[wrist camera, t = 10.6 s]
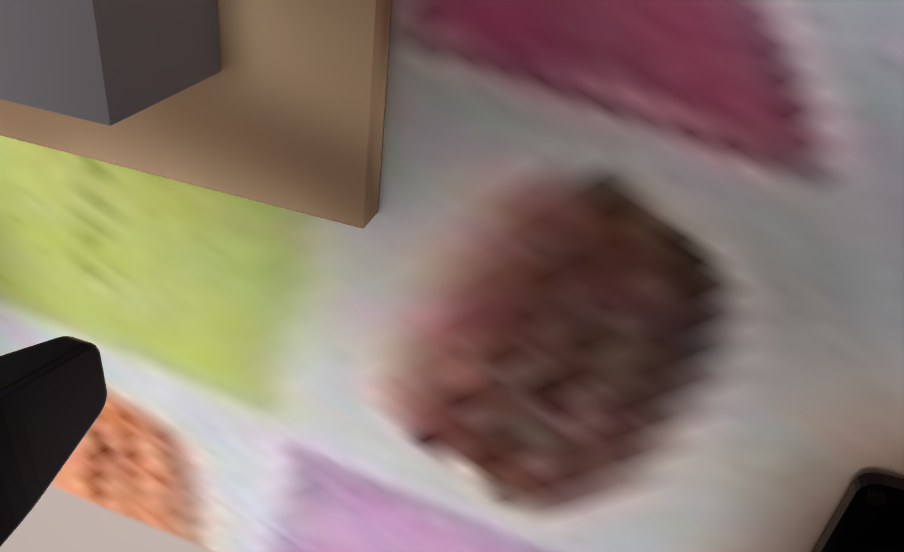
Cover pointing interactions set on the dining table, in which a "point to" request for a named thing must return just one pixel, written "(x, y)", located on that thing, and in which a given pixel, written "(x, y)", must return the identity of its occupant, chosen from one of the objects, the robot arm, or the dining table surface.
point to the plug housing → (104, 53)
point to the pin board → (259, 112)
